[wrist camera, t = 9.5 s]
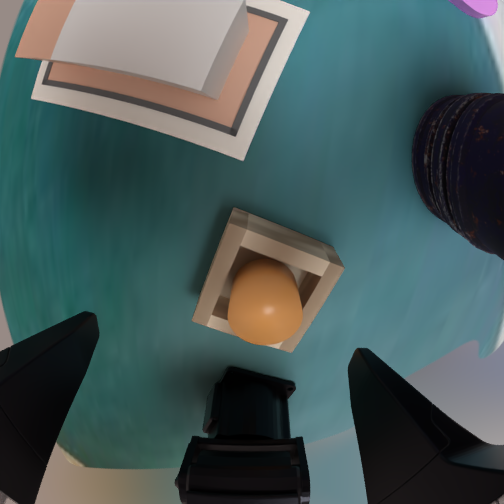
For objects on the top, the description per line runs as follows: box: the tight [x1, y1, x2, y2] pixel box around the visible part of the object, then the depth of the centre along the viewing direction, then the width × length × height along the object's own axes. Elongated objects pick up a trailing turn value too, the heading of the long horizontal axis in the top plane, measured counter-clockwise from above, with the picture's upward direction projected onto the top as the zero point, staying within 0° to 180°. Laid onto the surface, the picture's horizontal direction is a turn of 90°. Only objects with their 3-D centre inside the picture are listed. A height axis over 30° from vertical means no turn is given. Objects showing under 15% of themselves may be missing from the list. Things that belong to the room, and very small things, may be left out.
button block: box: [192, 207, 345, 353], centre depth 19 cm, size 7×7×3 cm
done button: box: [228, 259, 303, 345], centre depth 17 cm, size 4×4×3 cm
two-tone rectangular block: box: [15, 0, 249, 100], centre depth 11 cm, size 11×4×5 cm, turn 68°
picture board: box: [31, 0, 310, 161], centre depth 13 cm, size 16×10×1 cm, turn 68°
